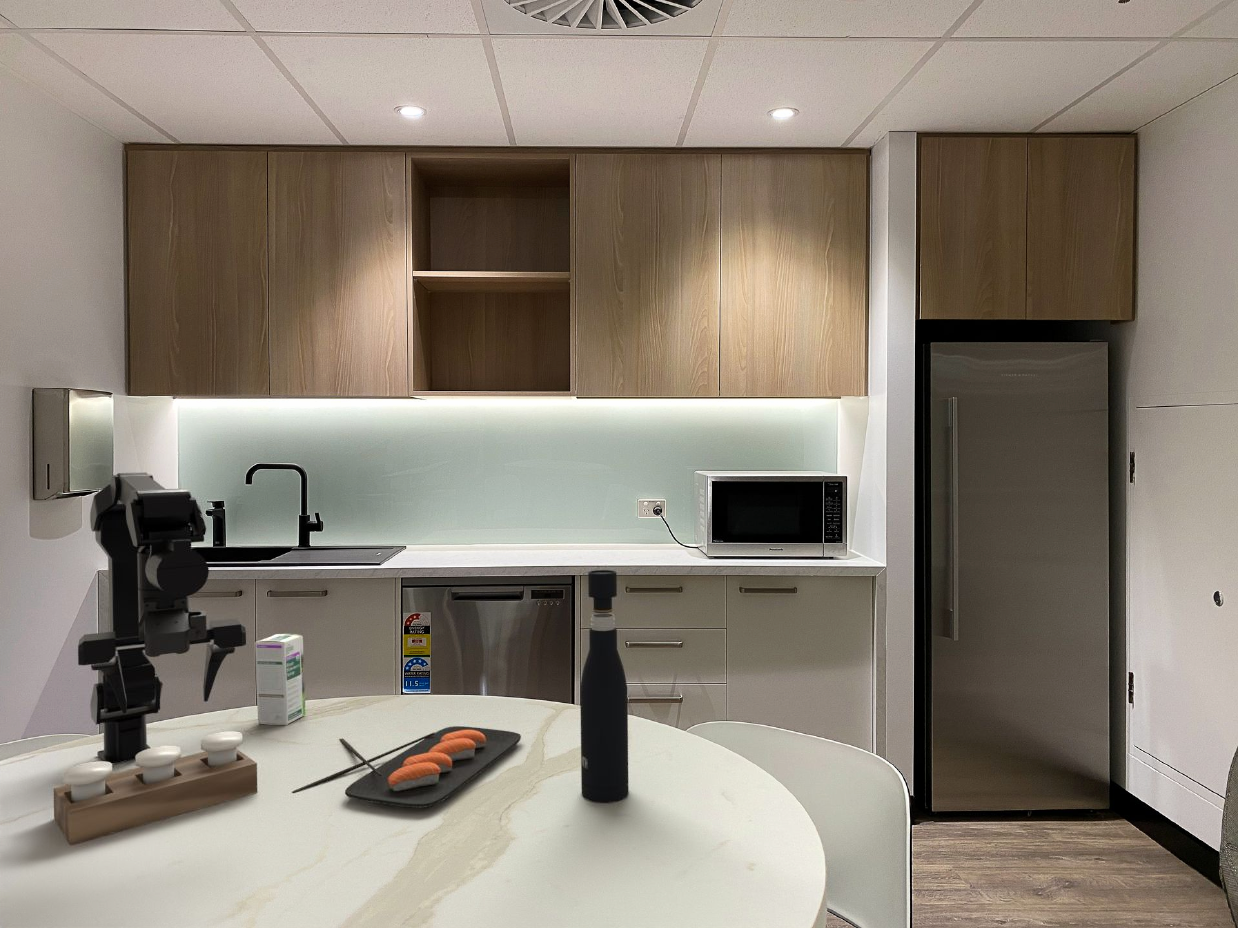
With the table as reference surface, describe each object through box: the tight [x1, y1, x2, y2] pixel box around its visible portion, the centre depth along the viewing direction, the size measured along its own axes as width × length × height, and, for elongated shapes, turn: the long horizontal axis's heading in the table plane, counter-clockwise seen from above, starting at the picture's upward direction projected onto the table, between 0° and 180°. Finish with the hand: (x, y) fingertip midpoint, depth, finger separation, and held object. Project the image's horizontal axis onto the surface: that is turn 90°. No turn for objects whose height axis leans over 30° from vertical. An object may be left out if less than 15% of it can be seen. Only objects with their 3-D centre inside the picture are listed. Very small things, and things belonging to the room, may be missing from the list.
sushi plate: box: [291, 725, 522, 808], centre depth 124 cm, size 29×30×4 cm
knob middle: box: [135, 745, 182, 785], centre depth 111 cm, size 5×5×4 cm
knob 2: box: [200, 731, 243, 768], centre depth 116 cm, size 5×5×4 cm
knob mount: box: [52, 748, 258, 846], centre depth 111 cm, size 10×22×4 cm, turn 133°
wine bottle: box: [579, 569, 630, 804], centre depth 113 cm, size 6×6×30 cm
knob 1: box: [62, 760, 113, 803], centre depth 105 cm, size 5×5×4 cm
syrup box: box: [254, 633, 306, 726], centre depth 145 cm, size 6×6×14 cm
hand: (166, 706), depth 108 cm, fingers open, 9 cm apart
